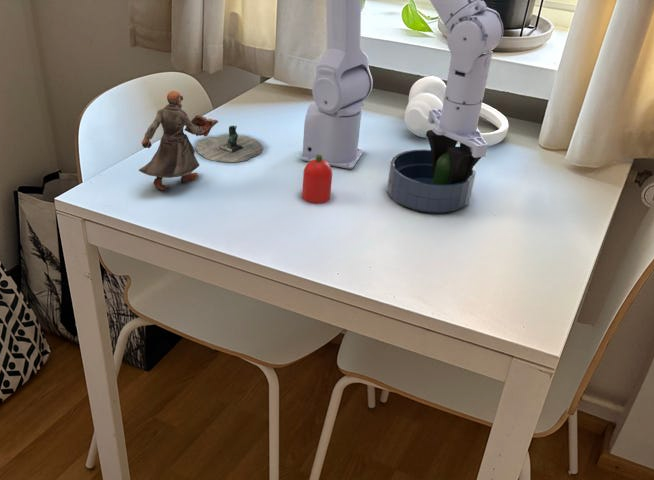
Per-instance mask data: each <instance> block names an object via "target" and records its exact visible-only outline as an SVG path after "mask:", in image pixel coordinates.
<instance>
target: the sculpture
mask: <svg viewBox="0 0 654 480" xmlns="http://www.w3.org/2000/svg"><path fill="white" fill-rule="evenodd" d="M264 148H265V147H264V145H263V144H262V143H261V142H259V140H257V139H256V138H251V137H249V136H246V135H240V134H239V133H238V132H237V125H230V126H228V134H222V135H219V136H206V137H204V138H201V139H199V140H198V141H197V142H196V144H195V146H194V150H195V151H196V153H197V154H199V155H201V157H203V158H204V159H206V160H209V161H212V162H223V163H239V162H244V161H249V160H250V159H251V158H253V157H257V156H259V155H260V154H263V150H264Z"/></svg>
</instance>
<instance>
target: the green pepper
mask: <svg viewBox="0 0 654 480" xmlns="http://www.w3.org/2000/svg"><path fill="white" fill-rule="evenodd" d="M449 175H450V159H449V154H448V152H446V153H444V154H442V155H441V156H440V157H439V158H438V160H437V162H436V167H435V172H434V178H433V184H438V185H448V184H449Z"/></svg>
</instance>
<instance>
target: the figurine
mask: <svg viewBox="0 0 654 480" xmlns="http://www.w3.org/2000/svg"><path fill="white" fill-rule="evenodd" d="M166 100H167V102H168V104H166V105H165V106H164V107H163V108H161V109H159V110H157V112H156V116H155V118H154V120H153V121H152V123H151V124H150V125H149V127H148V128H147V130H146V132H145V133H144V137H143V139H142V140H141V146H142V147H143V149H150V148H151V147H152V146H153V144H152V142H151V140H152V139H153V137H154V135H155V133H156V131H157V129H158V128H159V127H160V125H161V128H162V130H163V134H162V136H161V138H160V139H159V140H160V141H159V145H158V147H157V150H156V152H155V153H154V154H153V156H152V158H151V160H149V162H148V163H147V164H145V165H144V166H142V167H141V168H139V169H138V172H140V173H141V174H145V175H147V176H150V177H154V180H153V183H152V185H153V186H154V187H155V189H156V190H160V191H166V190H167V187H166V185H165V184H163V183H164V182H163V179H167V178H168V179H172V178H180V181H181V182H182V183H187V182H192V181H195V180H197V179H198V178H199V174H198V172H194V171H195V170H196V169H198V168H199V167H200V163H199V161H198V159H197V157H196V154H195V153H196V149H195V147H194V146H193V144H192V143H191V141H190V138H189V137H188V135H187V134H186V133H185V132H188V133H189V134H191V135H193V136H195V137H198V136H199V137H201V136H203V137H204V138H206V137H208V135H209V134H210V132H211V130H212V129H213V128H214V126H215V125H217V124H218V123H219V120H218V119H214V118H213V119H212V118H209V117H208V118H207V117H206V116H203V115H200V114H197V115H195V116H194V117H193V118H192V120H190V119H189V116H188V115H189V114H188V113H186V111H184V110H183V109H182V108H183V105H182V101H183V100H184V97H183V95H181V93H180V92H179V91H177V90H171V91H169V92H168V93H167V95H166ZM184 131H185V132H184Z"/></svg>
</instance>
